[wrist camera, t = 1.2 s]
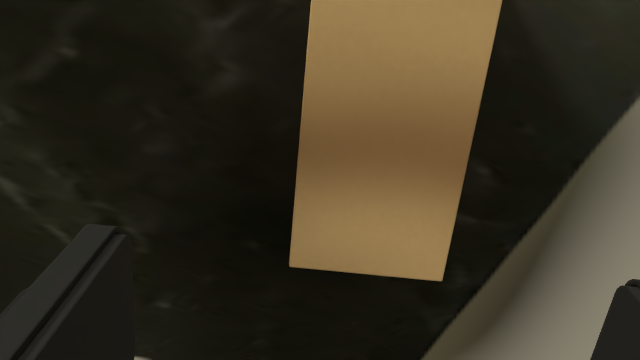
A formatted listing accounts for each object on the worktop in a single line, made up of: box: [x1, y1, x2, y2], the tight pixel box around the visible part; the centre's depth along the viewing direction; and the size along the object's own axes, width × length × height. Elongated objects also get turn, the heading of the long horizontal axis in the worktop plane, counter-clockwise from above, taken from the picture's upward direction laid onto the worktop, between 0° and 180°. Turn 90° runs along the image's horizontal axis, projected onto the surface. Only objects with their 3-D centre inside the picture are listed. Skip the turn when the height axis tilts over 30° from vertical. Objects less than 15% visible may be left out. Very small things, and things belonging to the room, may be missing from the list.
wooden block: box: [289, 0, 502, 281], centre depth 22 cm, size 13×6×4 cm, turn 175°
